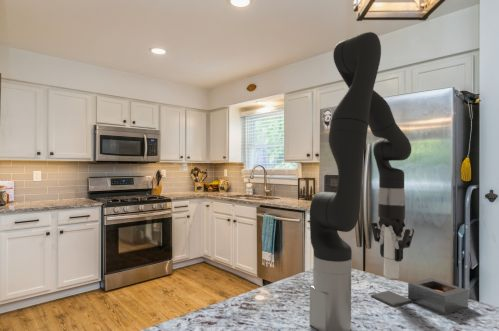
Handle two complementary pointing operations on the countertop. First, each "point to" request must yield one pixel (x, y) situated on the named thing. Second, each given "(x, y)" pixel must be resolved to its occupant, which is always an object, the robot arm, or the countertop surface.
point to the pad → (391, 298)
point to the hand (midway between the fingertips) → (391, 258)
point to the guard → (438, 295)
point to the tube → (390, 256)
